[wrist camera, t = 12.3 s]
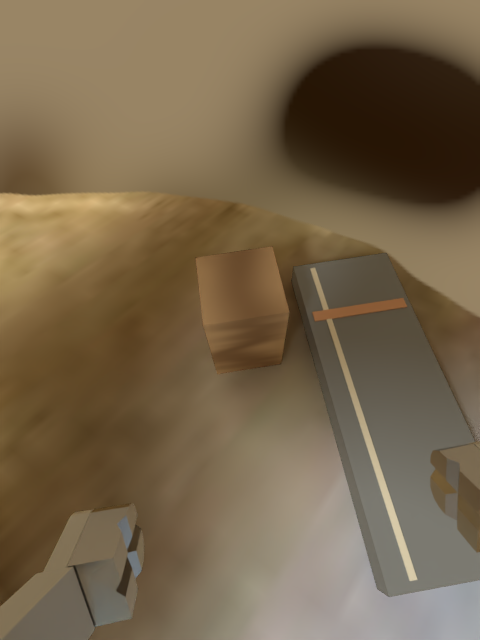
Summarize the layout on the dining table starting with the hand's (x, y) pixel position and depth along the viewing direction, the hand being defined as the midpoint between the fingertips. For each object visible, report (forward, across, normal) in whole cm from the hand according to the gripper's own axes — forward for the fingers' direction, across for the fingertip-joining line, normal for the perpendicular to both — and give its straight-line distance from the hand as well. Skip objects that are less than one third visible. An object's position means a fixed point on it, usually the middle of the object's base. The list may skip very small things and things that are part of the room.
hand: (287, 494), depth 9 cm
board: (+14, -9, +6) cm, 18 cm away
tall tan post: (+19, 0, +2) cm, 19 cm away
